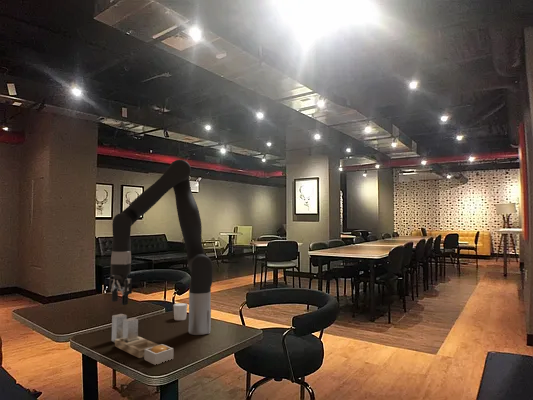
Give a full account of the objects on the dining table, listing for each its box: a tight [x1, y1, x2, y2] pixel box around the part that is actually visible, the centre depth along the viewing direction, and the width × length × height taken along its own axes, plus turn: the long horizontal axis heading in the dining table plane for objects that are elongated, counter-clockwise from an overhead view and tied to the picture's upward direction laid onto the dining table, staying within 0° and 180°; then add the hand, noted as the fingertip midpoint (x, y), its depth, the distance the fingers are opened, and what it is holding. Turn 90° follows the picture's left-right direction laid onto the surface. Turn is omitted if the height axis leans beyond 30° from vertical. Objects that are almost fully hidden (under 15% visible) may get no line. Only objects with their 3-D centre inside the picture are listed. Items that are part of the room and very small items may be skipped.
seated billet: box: [123, 317, 139, 343], centre depth 135 cm, size 4×4×10 cm
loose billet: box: [111, 313, 128, 343], centre depth 141 cm, size 4×4×10 cm
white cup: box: [172, 302, 188, 321], centre depth 173 cm, size 7×7×7 cm
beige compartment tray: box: [114, 335, 160, 359], centre depth 131 cm, size 18×8×2 cm, turn 49°
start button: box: [152, 344, 167, 353], centre depth 122 cm, size 5×5×2 cm
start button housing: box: [143, 343, 175, 366], centre depth 122 cm, size 7×7×4 cm
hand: (119, 303), depth 141 cm, fingers open, 8 cm apart
